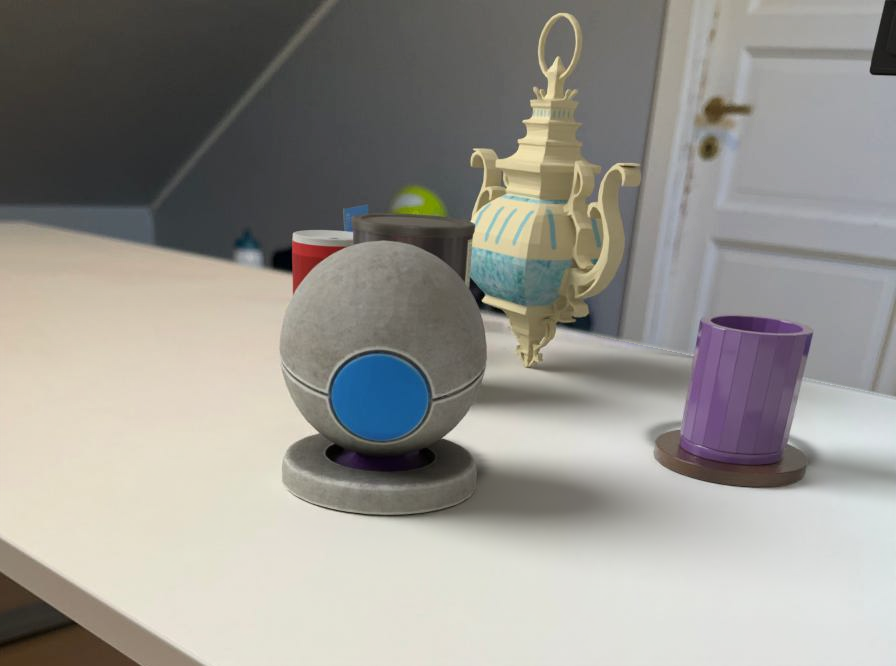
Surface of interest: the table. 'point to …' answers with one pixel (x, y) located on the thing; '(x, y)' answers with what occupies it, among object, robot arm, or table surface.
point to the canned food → (315, 250)
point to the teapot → (546, 218)
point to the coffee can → (421, 235)
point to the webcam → (382, 380)
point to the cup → (744, 388)
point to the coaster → (729, 465)
